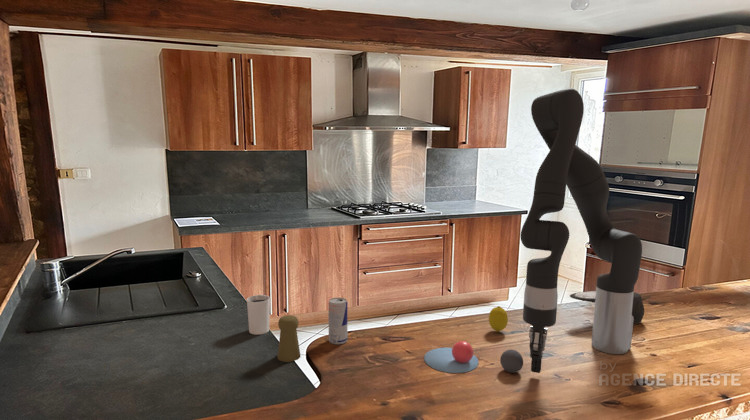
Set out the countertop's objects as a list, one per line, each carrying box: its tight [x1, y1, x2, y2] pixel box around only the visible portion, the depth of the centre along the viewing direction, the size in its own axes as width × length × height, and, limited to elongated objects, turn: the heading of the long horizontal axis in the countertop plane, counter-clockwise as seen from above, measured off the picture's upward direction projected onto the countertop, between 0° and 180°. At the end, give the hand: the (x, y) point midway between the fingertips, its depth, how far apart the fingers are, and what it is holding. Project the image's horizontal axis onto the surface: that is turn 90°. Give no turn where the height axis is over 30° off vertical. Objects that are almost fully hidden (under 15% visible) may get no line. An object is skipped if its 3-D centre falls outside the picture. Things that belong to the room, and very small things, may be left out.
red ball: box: [451, 340, 474, 363], centre depth 123 cm, size 6×6×6 cm
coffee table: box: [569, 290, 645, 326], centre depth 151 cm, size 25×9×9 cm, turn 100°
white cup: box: [246, 294, 271, 336], centre depth 142 cm, size 7×7×10 cm
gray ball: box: [499, 349, 524, 374], centre depth 118 cm, size 6×6×6 cm
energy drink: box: [328, 297, 349, 346], centre depth 135 cm, size 5×5×12 cm
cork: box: [276, 314, 301, 363], centre depth 125 cm, size 6×6×11 cm
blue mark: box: [423, 347, 479, 374], centre depth 125 cm, size 14×14×1 cm
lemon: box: [488, 305, 509, 333], centre depth 143 cm, size 6×6×8 cm
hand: (535, 371), depth 116 cm, fingers closed
